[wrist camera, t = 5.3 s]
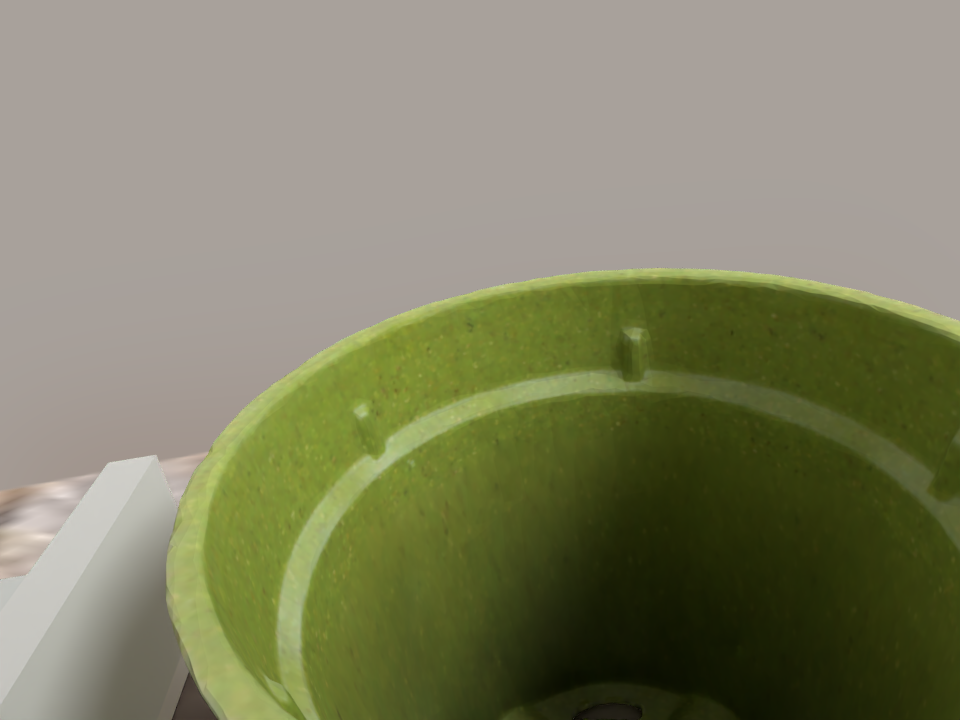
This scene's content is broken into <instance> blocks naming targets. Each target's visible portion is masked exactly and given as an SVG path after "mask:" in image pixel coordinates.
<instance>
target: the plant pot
mask: <svg viewBox="0 0 960 720" xmlns="http://www.w3.org/2000/svg"><path fill="white" fill-rule="evenodd" d="M166 603H167V608H168V613H169V617H170V620H171V624H172V627H173V631H174V634H175V637H176V640H177V643H178V646H179V648H180V651H181V654H182V656H183V659H184V661H185V664H186V666H187V668H188V670H189V672H190V674H191V676H192V678H193V680H194V682H195V684H196V686H197V688H198V690H199V692H200V694H201V696H202V697H203V699H204V700H205V702H206V703H207V705H208V706H209V708H210V709H211V711H212V712H213V714H214V715H215V717H216V718H217V720H573V717H576V716H577V714H578V713H580V712H581V711H584V710H586V709H588V708H590V707H594V706H597V705H602V704H609V703H618V704H629V705H631V706H634V707H637V708H640V709H641V710H642V717H641V718H640V719H638V720H960V321H958V320H955V319H952V318H949V317H946V316H943V315H940V314H937V313H934V312H931V311H929V310H926V309H923V308H920V307H918V306H915V305H911V304H907V303H904V302H901V301H897V300H893V299H889V298H884V297H881V296H877V295H874V294H871V293H868V292H864V291H859V290H854V289H850V288H845V287H840V286H835V285H830V284H825V283H821V282H817V281H810V280H804V279H798V278H793V277H783V276H779V275H770V274H757V273H751V272H738V271H726V270H711V269H670V268H651V269H627V270H607V271H592V272H583V273H575V274H567V275H558V276H552V277H547V278H537V279H533V280H529V281H524V282H519V283H510V284H504V285H500V286H496V287H491V288H486V289H482V290H478V291H475V292H472V293H469V294H465V295H461V296H457V297H453V298H449V299H446V300H443V301H437V302H433V303H431V304H428V305H424V306H421V307H419V308H416V309H413V310H410V311H408V312H405V313H402V314H399V315H397V316H394V317H391V318H389V319H386V320H384V321H383V322H381V323H378V324H376V325H374V326H372V327H369V328H367V329H364V330H362V331H359V332H357V333H355V334H353V335H351V336H348V337H346V338H344V339H342V340H340V341H338V342H337V343H335V344H334V345H332V346H331V347H329V348H327V349H325V350H323V351H321V352H319V353H318V354H316V355H315V356H313V357H312V358H310V359H309V360H307V361H306V362H304V363H303V364H302V365H301V366H300V367H299V368H297V369H296V370H294V371H292V372H290V373H289V374H288V375H286V376H285V377H284V378H282V379H280V380H279V381H277V382H276V383H274V384H272V385H271V386H270V387H269V388H268V389H267V390H266V391H264V392H263V393H261V394H260V395H259V396H258V397H256V398H255V399H254V400H253V401H252V402H251V403H249V404H248V405H247V406H246V407H245V408H244V409H243V410H242V411H241V412H240V413H239V414H238V415H237V416H236V417H235V418H234V419H233V420H232V422H231V423H230V424H229V425H228V426H227V427H226V428H225V429H224V430H223V432H222V433H221V434H220V435H219V437H218V438H217V439H216V440H215V441H214V443H213V445H212V446H211V448H210V450H209V453H208V455H207V456H206V458H205V459H204V460H203V461H202V462H201V463H200V464H199V465H198V466H197V468H196V469H195V471H194V473H193V474H192V477H191V479H190V481H189V483H188V485H187V487H186V490H185V492H184V494H183V496H182V498H181V500H180V503H179V507H178V511H177V514H176V519H175V523H174V528H173V532H172V534H171V536H170V541H169V545H168V550H167V561H166ZM582 720H588V719H587V718H584V719H582ZM597 720H615V719H597ZM621 720H627V719H621Z"/></svg>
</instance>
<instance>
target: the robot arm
mask: <svg viewBox="0 0 960 720" xmlns="http://www.w3.org/2000/svg"><path fill="white" fill-rule="evenodd" d="M177 511H178V508H177V505H176V503H175V500H174V498H173V495H172V493H171V490H170V488H169V485H168V483H167V481H166V478H165V476H164V473H163V471H162V468H161V466H160V463H159V461H158V458H157V456H156V455H152V456H146V457H140V458H134V459H128V460H121V461H115V462H109V463H108V464H107V465H106V467H105V468H104V469H103V471H102V472H101V473H100V475H99V476H98V478H97V479H96V480H95V482H94V483H93V485H92V486H91V487H90V489H89V490H88V491H87V493H86V494H85V496H84V497H83V498H82V500H81V501H80V502H79V504H78V505H77V507H76V508H75V509H74V511H73V512H72V514H71V515H70V516H69V518H68V519H67V520H66V522H65V523H64V525H63V526H62V527H61V529H60V530H59V531H58V533H57V534H56V536H55V537H54V538H53V540H52V541H51V543H50V544H49V545H48V547H47V548H46V549H45V551H44V552H43V554H42V555H41V556H40V558H39V559H38V560H37V562H36V563H35V565H34V566H33V567H32V569H31V570H30V572H29V573H28V574H27V576H26V577H25V578H24V580H23V581H22V583H21V584H20V585H19V587H18V588H17V589H16V591H15V592H14V594H13V595H12V596H11V598H10V599H9V600H8V602H7V603H6V605H5V606H4V607H3V609H2V610H1V612H0V720H157V718H158V716H159V713H160V710H161V708H162V705H163V702H164V700H165V697H166V694H167V692H168V689H169V686H170V684H171V681H172V679H173V676H174V673H175V671H176V668H177V665H178V663H179V660H180V657H181V655H182V654H181V651H180V648H179V646H178V643H177V640H176V637H175V634H174V631H173V627H172V624H171V620H170V617H169V613H168V608H167V603H166V561H167V550H168V545H169V541H170V536H171V534H172V532H173V528H174V523H175V519H176V514H177Z"/></svg>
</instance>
